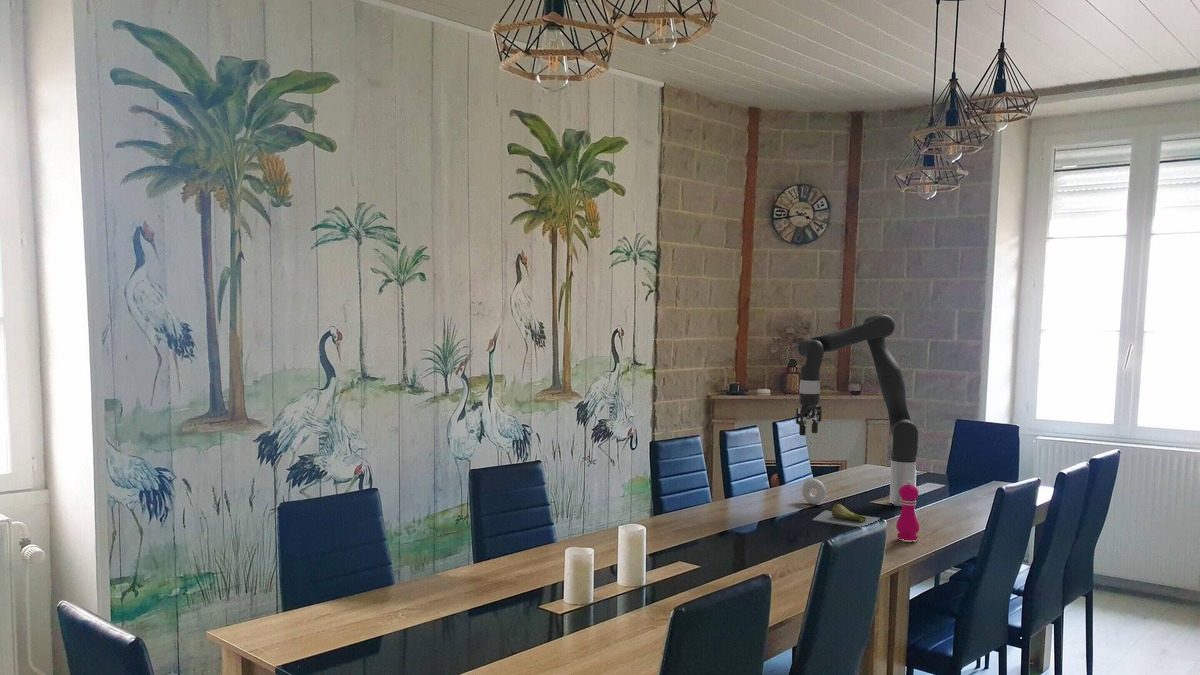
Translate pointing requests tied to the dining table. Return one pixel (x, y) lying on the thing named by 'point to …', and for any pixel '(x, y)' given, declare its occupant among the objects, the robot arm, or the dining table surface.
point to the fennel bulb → (846, 513)
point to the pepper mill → (908, 513)
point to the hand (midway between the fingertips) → (808, 434)
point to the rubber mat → (843, 520)
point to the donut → (819, 487)
